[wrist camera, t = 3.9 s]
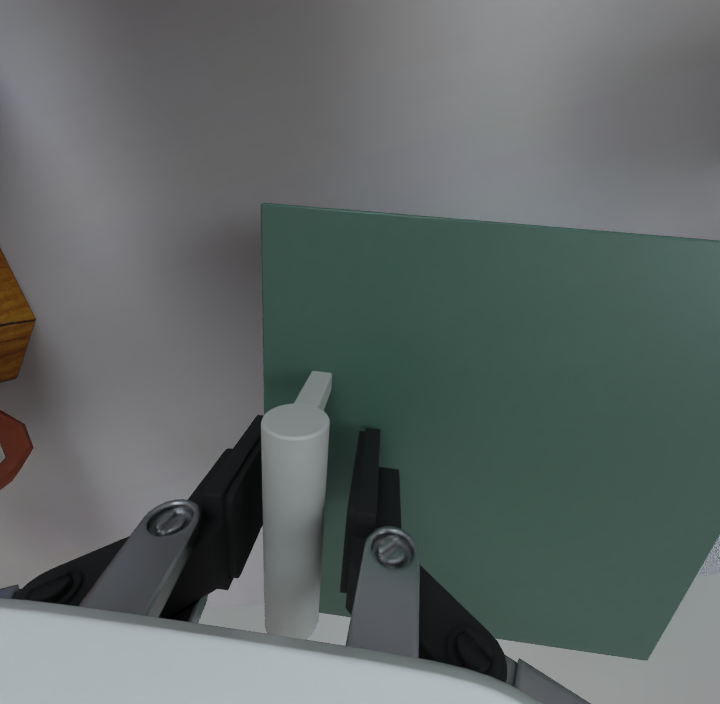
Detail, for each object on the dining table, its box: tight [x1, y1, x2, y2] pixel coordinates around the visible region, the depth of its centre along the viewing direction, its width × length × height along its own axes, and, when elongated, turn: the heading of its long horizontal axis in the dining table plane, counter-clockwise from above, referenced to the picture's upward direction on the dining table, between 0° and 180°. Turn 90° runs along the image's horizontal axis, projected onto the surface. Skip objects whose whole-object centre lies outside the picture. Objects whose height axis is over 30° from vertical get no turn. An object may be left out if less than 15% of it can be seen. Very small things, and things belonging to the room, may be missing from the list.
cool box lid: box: [261, 203, 720, 660], centre depth 11 cm, size 16×17×5 cm
